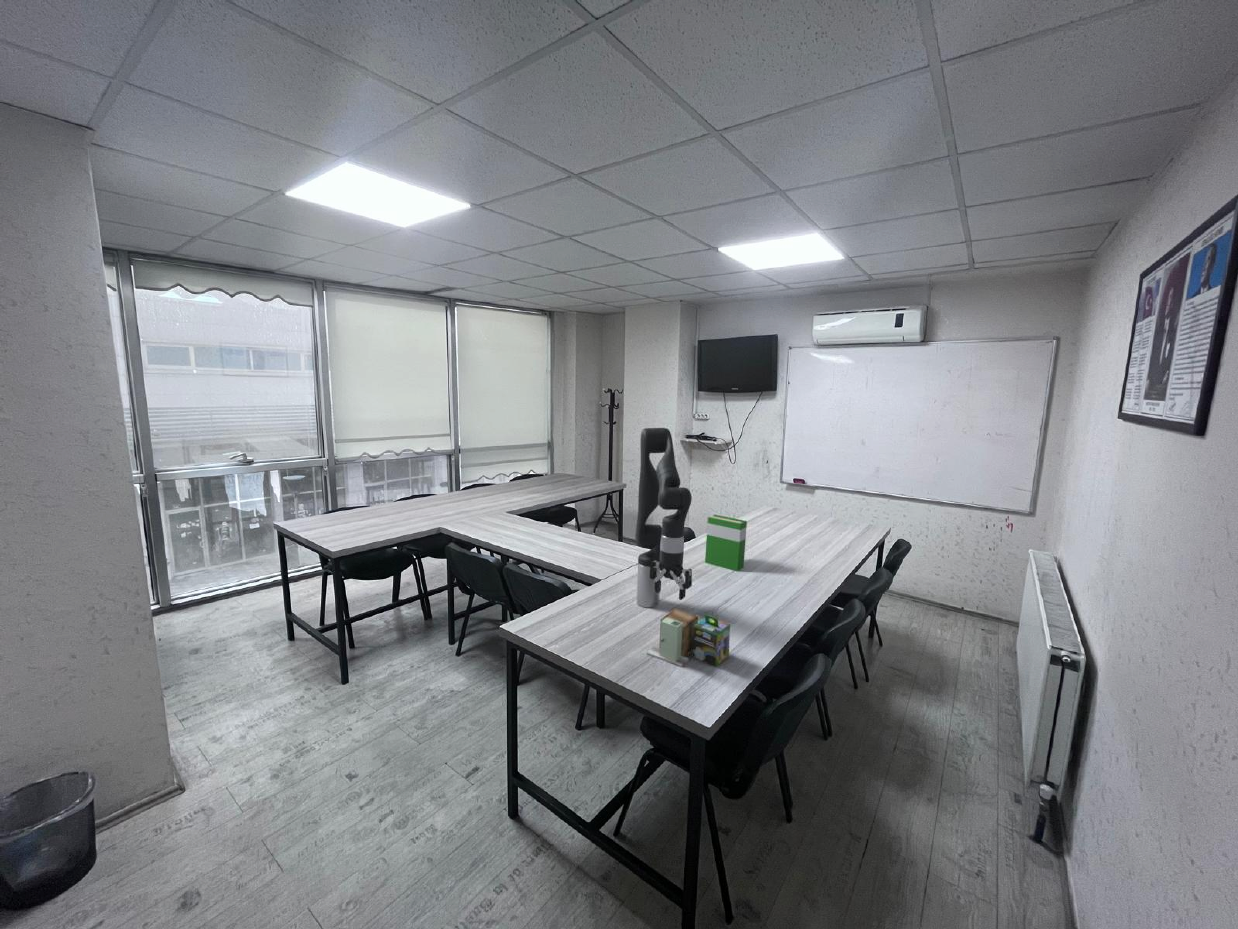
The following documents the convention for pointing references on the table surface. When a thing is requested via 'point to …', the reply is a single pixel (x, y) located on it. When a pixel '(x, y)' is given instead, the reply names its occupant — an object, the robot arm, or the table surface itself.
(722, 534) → the hardback book
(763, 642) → the table surface
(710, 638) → the chalk box
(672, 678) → the table surface
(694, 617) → the small wooden cupboard
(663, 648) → the hollow square pipe
